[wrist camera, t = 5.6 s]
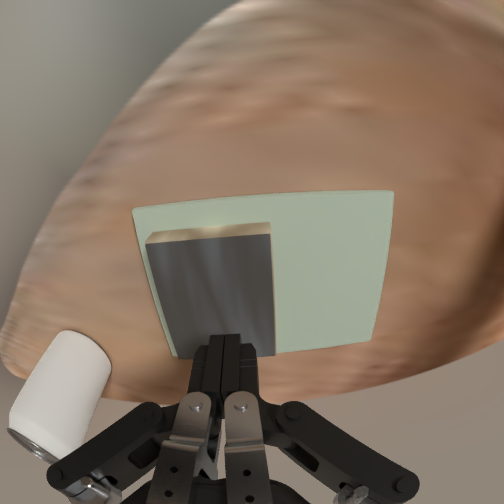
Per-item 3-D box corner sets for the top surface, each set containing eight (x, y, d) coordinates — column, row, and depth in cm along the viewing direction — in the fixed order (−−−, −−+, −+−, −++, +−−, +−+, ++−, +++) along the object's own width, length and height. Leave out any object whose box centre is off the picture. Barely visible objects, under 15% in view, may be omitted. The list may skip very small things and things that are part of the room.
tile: (272, 232, 14) (143, 243, 14) (276, 356, 18) (177, 360, 18) (269, 221, 16) (152, 231, 16) (274, 339, 19) (182, 343, 20)
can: (47, 329, 20) (-10, 418, 9) (89, 324, 20) (27, 435, 9) (81, 375, 23) (42, 462, 12) (124, 374, 22) (89, 479, 12)
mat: (389, 190, 16) (394, 192, 15) (368, 335, 21) (370, 340, 20) (135, 207, 16) (131, 210, 15) (174, 351, 21) (173, 356, 20)
